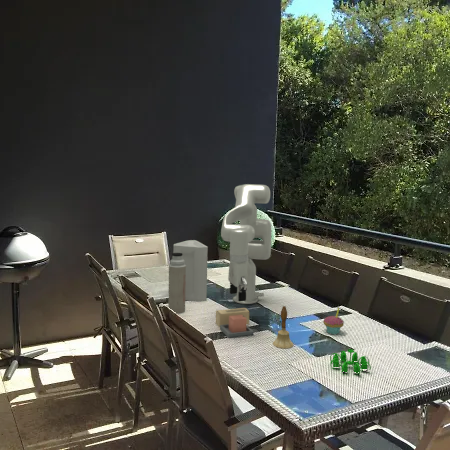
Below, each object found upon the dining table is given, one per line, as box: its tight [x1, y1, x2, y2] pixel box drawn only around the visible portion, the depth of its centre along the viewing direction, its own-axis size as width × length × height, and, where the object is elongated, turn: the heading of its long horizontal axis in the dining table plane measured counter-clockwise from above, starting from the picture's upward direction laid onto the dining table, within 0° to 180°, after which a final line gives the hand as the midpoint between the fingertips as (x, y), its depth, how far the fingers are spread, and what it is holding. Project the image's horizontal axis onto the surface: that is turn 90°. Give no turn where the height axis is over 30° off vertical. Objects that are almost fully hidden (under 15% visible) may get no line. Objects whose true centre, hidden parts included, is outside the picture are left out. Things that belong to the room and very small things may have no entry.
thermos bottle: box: [167, 252, 186, 314], centre depth 239 cm, size 8×8×28 cm
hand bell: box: [272, 305, 294, 350], centre depth 202 cm, size 8×8×16 cm
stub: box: [229, 315, 247, 333], centre depth 215 cm, size 6×5×6 cm
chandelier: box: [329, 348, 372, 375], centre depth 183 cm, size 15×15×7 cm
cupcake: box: [322, 306, 345, 335], centre depth 217 cm, size 9×8×12 cm
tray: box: [219, 324, 254, 339], centre depth 215 cm, size 11×11×2 cm
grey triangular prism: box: [172, 239, 209, 303], centre depth 261 cm, size 19×15×28 cm
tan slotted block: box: [215, 307, 250, 328], centre depth 225 cm, size 14×5×6 cm, turn 111°
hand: (237, 297), depth 214 cm, fingers open, 9 cm apart
